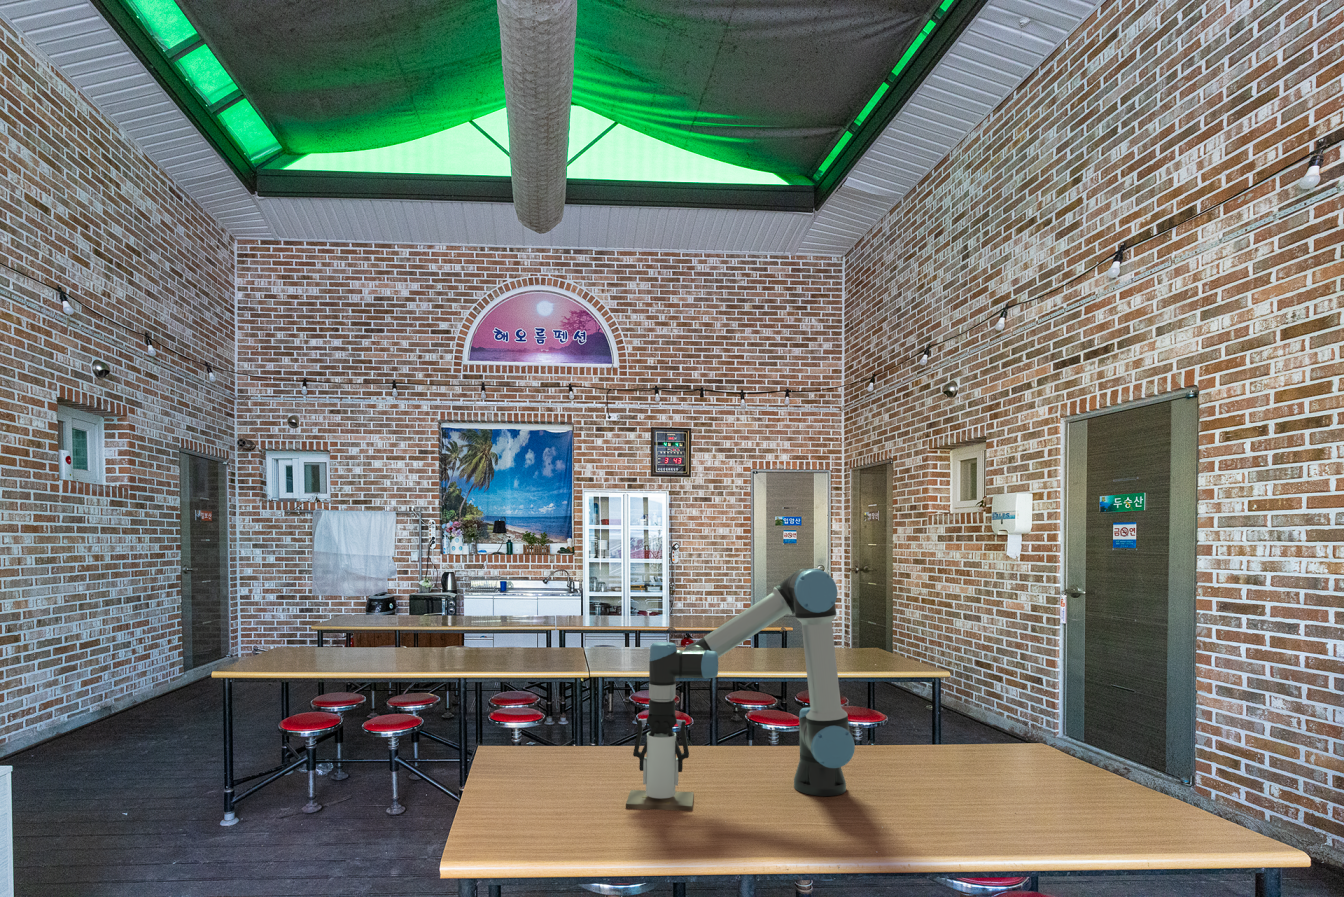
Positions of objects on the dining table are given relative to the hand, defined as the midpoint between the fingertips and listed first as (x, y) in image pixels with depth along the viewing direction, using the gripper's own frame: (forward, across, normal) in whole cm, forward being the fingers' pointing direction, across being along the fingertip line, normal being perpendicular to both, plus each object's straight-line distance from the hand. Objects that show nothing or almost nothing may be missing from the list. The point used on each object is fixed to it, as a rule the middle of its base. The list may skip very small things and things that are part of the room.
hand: (660, 783), depth 213 cm
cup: (+3, 0, 0) cm, 3 cm away
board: (+5, 0, 0) cm, 5 cm away
